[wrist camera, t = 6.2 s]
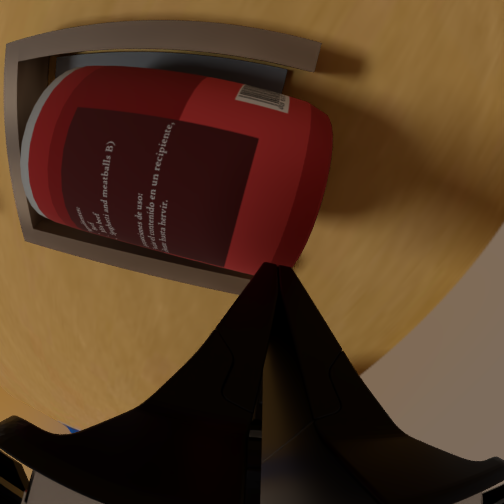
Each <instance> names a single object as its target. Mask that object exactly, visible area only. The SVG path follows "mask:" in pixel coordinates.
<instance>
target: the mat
mask: <svg viewBox="0 0 504 504" xmlns="http://www.w3.org/2000/svg"><path fill="white" fill-rule="evenodd" d="M84 66H128V67H141V68H151V69H160V70H168V71H176V72H183V73H189V74H196V75H201V76H207V77H212V78H218V79H222V80H227V81H232V82H236V83H241V84H245V85H249V86H253V87H257V88H261V89H265V90H269V91H272V92H276V93H280V94H282V90H283V86H284V82H285V78H286V74H287V69H282V68H278V67H273V66H268V65H264V64H258V63H253V62H247V61H241V60H235V59H228V58H221V57H213V56H204V55H194V54H182V53H164V52H110V53H93V54H82V55H72V56H64V57H57V61H56V75H55V79H56V78H57V77H59V76H60V75H62V74H63V73H64V72H66V71H68V70H71V69H73V68H76V67H84Z"/></svg>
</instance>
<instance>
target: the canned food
mask: <svg viewBox="0 0 504 504" xmlns="http://www.w3.org/2000/svg"><path fill="white" fill-rule="evenodd" d="M332 147H333V132H332V125H331V122H330V120H329V117H328V115H326V114H325V113H323V112H322V111H320V110H319V109H317V108H316V107H314V106H313V105H311V104H310V103H308V102H306V101H303V100H300V99H296V98H293V97H290V96H287V95H283V94H280V93H276V92H272V91H269V90H265V89H261V88H257V87H253V86H249V85H245V84H241V83H236V82H232V81H227V80H222V79H218V78H212V77H207V76H201V75H196V74H189V73H183V72H176V71H168V70H160V69H151V68H141V67H128V66H84V67H76V68H73V69H71V70H68V71H66V72H64V73H63V74H62V75H60V76H59V77H57V78H56V79H55V80H54V81H53V82H52V83H51V84H50V85H49V86H48V87H47V88H46V89H45V90H44V92H43V93H42V95H41V96H40V98H39V99H38V101H37V102H36V104H35V106H34V108H33V110H32V112H31V115H30V117H29V119H28V122H27V124H26V128H25V132H24V136H23V140H22V146H21V157H20V168H21V179H22V183H23V187H24V191H25V194H26V196H27V198H28V200H29V202H30V204H31V206H32V207H33V208H34V209H35V210H36V211H37V212H38V213H39V214H40V215H42V216H44V217H46V218H48V219H50V220H52V221H54V222H56V223H60V224H63V225H67V226H70V227H72V228H75V229H79V230H82V231H86V232H90V233H93V234H97V235H100V236H104V237H108V238H111V239H115V240H118V241H122V242H126V243H129V244H133V245H137V246H141V247H144V248H148V249H152V250H156V251H159V252H163V253H167V254H171V255H175V256H179V257H182V258H186V259H190V260H194V261H198V262H202V263H206V264H210V265H214V266H218V267H222V268H226V269H230V270H234V271H238V272H242V273H246V274H250V275H255V273H256V272H257V271H258V269H259V268H260V266H261V265H262V264H263V263H264V262H269V263H274V264H276V265H277V266H278V265H284V266H288V267H291V268H292V267H293V266H294V264H295V263H296V261H297V260H298V258H299V257H300V255H301V253H302V251H303V249H304V247H305V245H306V243H307V241H308V239H309V236H310V234H311V231H312V229H313V227H314V224H315V221H316V218H317V215H318V212H319V209H320V206H321V203H322V199H323V196H324V192H325V188H326V184H327V179H328V174H329V170H330V164H331V156H332Z"/></svg>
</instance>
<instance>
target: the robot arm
mask: <svg viewBox="0 0 504 504" xmlns="http://www.w3.org/2000/svg"><path fill="white" fill-rule="evenodd" d="M0 449H2V450H3V451H4V452H6V453H7V454H9V455H10V456H12V457H13V458H15V459H16V460H18V461H19V462H21V463H23V464H24V465H26V466H27V467H29V468H31V469H33V471H32V475H31V478H30V481H28V478H27V476H26V474H25V472H24V469H23V467H22V465H21V464H20V463H19V462H17V461H16V460H14V459H13V458H11V457H9V456H8V455H7V454H5V453H4V452H2V451H1V450H0V504H504V484H502V485H500V486H498V487H495V488H493V489H491V490H489V491H486V492H484V493H482V491H484V490H486V489H488V488H490V487H492V486H494V485H496V484H498V483H500V482H502V481H503V480H504V460H502V459H501V458H499V457H492V458H490V459H487V460H485V461H471V460H467V459H464V458H461V457H458V456H455V455H453V454H450V453H448V452H445V451H443V450H440V449H438V448H435V447H433V446H431V445H428V444H426V443H424V442H421V441H419V440H417V439H415V438H412V437H410V436H408V435H407V434H405V433H404V432H403V431H402V430H400V429H399V428H398V427H397V426H396V424H395V423H394V422H393V421H392V420H391V418H390V417H389V416H388V414H387V413H386V412H385V410H384V409H383V408H382V406H381V405H380V404H379V402H378V401H377V400H376V398H375V397H374V396H373V394H372V393H371V392H370V390H369V389H368V388H367V386H366V385H365V384H364V382H363V381H362V379H361V378H360V376H359V375H358V373H357V372H356V370H355V369H354V367H353V366H352V364H351V362H350V361H349V359H348V358H347V356H346V354H345V353H344V351H342V348H341V346H340V345H339V343H338V341H337V340H336V338H335V336H334V335H333V333H332V331H331V330H330V328H329V327H328V325H327V323H326V322H325V320H324V319H323V317H322V315H321V314H320V312H319V310H318V309H317V307H316V306H315V304H314V302H313V301H312V299H311V298H310V296H309V294H308V293H307V291H306V290H305V288H304V286H303V285H302V283H301V282H300V280H299V279H298V277H297V275H296V274H295V272H294V271H293V269H292V268H291V267H288V266H284V265H278V266H277V265H276V264H274V263H269V262H264V263H263V264H262V265H261V266H260V268H259V269H258V271H257V272H256V273H255V275H254V276H253V277H252V279H251V280H250V282H249V283H248V284H247V286H246V287H245V288H244V290H243V291H242V293H241V294H240V295H239V297H238V298H237V299H236V301H235V302H234V304H233V305H232V306H231V308H230V309H229V310H228V312H227V313H226V314H225V316H224V317H223V319H222V320H221V321H220V323H219V324H218V325H217V327H216V328H215V330H213V332H212V333H211V335H210V336H209V337H208V339H207V340H206V341H205V342H204V344H203V345H202V346H201V347H200V348H199V350H198V351H197V352H196V353H195V354H194V355H193V356H192V357H191V358H190V359H189V360H188V362H187V363H186V364H185V365H184V366H183V367H182V368H180V369H179V370H178V371H177V372H176V373H175V374H174V375H173V376H172V377H171V378H170V379H169V380H168V381H167V382H166V383H165V384H164V385H163V386H162V387H161V388H159V389H158V390H157V391H156V392H155V393H154V394H153V395H152V396H151V397H150V398H148V399H147V400H146V401H145V402H143V403H142V404H140V405H139V406H137V407H136V408H134V409H132V410H130V411H128V412H125V413H123V414H121V415H118V416H116V417H114V418H111V419H109V420H106V421H104V422H102V423H99V424H97V425H94V426H92V427H89V428H87V429H84V430H81V431H79V432H75V433H72V434H63V435H62V434H61V435H59V434H53V433H50V432H47V431H44V430H42V429H41V428H39V427H37V426H35V425H33V424H32V423H30V422H28V421H26V420H24V419H22V418H20V417H18V416H11V417H9V418H7V419H5V420H3V421H1V422H0Z"/></svg>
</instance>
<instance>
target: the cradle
mask: <svg viewBox="0 0 504 504" xmlns="http://www.w3.org/2000/svg"><path fill="white" fill-rule="evenodd" d="M321 44H322V43H320V42H316V41H312V40H309V39H305V38H301V37H297V36H293V35H288V34H284V33H279V32H274V31H269V30H264V29H258V28H252V27H246V26H239V25H231V24H222V23H212V22H200V21H180V20H142V21H123V22H111V23H101V24H93V25H86V26H79V27H73V28H67V29H62V30H57V31H52V32H48V33H43V34H39V35H35V36H31V37H27V38H24V39H20V40H17V41H14V42H10V43H7V44H6V53H5V68H4V119H5V134H6V145H7V154H8V162H9V169H10V176H11V182H12V187H13V193H14V198H15V203H16V207H17V212H18V216H19V220H20V224H21V228H22V232H23V236H24V239H25V241H27V242H30V243H33V244H37V245H40V246H43V247H47V248H50V249H54V250H57V251H61V252H64V253H68V254H71V255H75V256H79V257H82V258H86V259H90V260H93V261H97V262H101V263H105V264H108V265H112V266H116V267H120V268H124V269H128V270H132V271H136V272H140V273H144V274H148V275H152V276H157V277H161V278H165V279H169V280H174V281H178V282H182V283H187V284H191V285H196V286H200V287H205V288H209V289H214V290H219V291H223V292H228V293H233V294H238V295H240V294H241V293H242V291H243V290H244V288H245V287H246V286H247V284H248V283H249V282H250V280H251V279H252V277H253V276H254V275H250V274H246V273H242V272H238V271H234V270H230V269H226V268H222V267H218V266H214V265H210V264H206V263H202V262H198V261H194V260H190V259H186V258H182V257H179V256H175V255H171V254H167V253H163V252H159V251H156V250H152V249H148V248H144V247H141V246H137V245H133V244H129V243H126V242H122V241H118V240H115V239H111V238H108V237H104V236H100V235H97V234H93V233H90V232H86V231H82V230H79V229H75V228H72V227H70V226H67V225H63V224H60V223H56V222H54V221H52V220H50V219H48V218H46V217H44V216H42V215H40V214H39V213H38V212H37V211H36V210H35V209H34V208H33V207H32V206H31V204H30V202H29V200H28V198H27V196H26V194H25V191H24V187H23V183H22V179H21V168H20V157H21V146H22V140H23V136H24V132H25V128H26V124H27V122H28V119H29V117H30V115H31V112H32V110H33V108H34V106H35V104H36V102H37V101H38V99H39V98H40V96H41V95H42V93H43V92H44V90H45V89H46V88H47V82H48V65H49V56H51V55H57V54H65V53H73V52H82V51H93V50H108V49H172V50H188V51H199V52H209V53H218V54H225V55H232V56H239V57H245V58H251V59H256V60H262V61H267V62H272V63H276V64H281V65H285V66H290V67H294V68H298V69H302V70H306V71H310V72H314V71H315V67H316V63H317V59H318V56H319V52H320V48H321Z"/></svg>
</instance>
